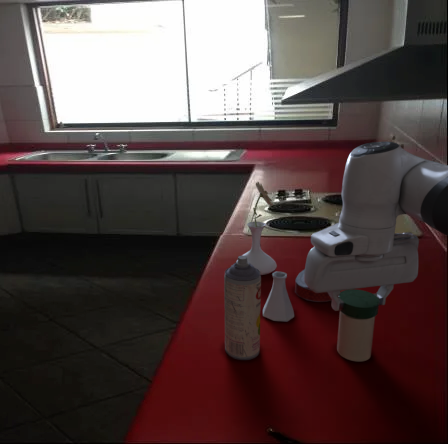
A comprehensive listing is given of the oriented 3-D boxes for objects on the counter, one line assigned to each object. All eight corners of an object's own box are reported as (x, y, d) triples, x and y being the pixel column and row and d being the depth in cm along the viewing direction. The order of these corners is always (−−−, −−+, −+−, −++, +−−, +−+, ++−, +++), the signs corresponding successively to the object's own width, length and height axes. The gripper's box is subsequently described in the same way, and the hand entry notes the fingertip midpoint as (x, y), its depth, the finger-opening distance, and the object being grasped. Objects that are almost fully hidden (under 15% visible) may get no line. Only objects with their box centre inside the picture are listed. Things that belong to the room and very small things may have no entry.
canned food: (327, 318, 101) (325, 294, 94) (288, 302, 107) (284, 278, 100) (347, 285, 105) (347, 259, 99) (309, 271, 112) (307, 246, 105)
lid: (332, 300, 81) (333, 289, 80) (368, 298, 81) (369, 288, 80) (345, 319, 75) (346, 308, 74) (384, 318, 74) (386, 306, 73)
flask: (298, 310, 96) (300, 270, 93) (290, 325, 91) (292, 284, 87) (267, 303, 100) (268, 265, 97) (257, 318, 94) (258, 277, 91)
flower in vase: (275, 280, 111) (278, 189, 104) (232, 277, 115) (232, 188, 107) (278, 261, 123) (280, 178, 115) (239, 258, 126) (239, 178, 119)
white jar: (367, 344, 83) (372, 294, 79) (373, 363, 77) (379, 311, 74) (334, 341, 84) (338, 292, 81) (339, 359, 79) (343, 308, 75)
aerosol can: (262, 359, 80) (264, 264, 74) (227, 360, 80) (226, 265, 74) (256, 339, 86) (257, 249, 80) (223, 340, 87) (222, 251, 81)
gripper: (407, 225, 77) (397, 292, 81) (302, 236, 75) (298, 304, 79) (432, 237, 71) (421, 308, 76) (320, 248, 69) (314, 322, 73)
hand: (357, 306), depth 77 cm, fingers closed on lid, 7 cm apart
